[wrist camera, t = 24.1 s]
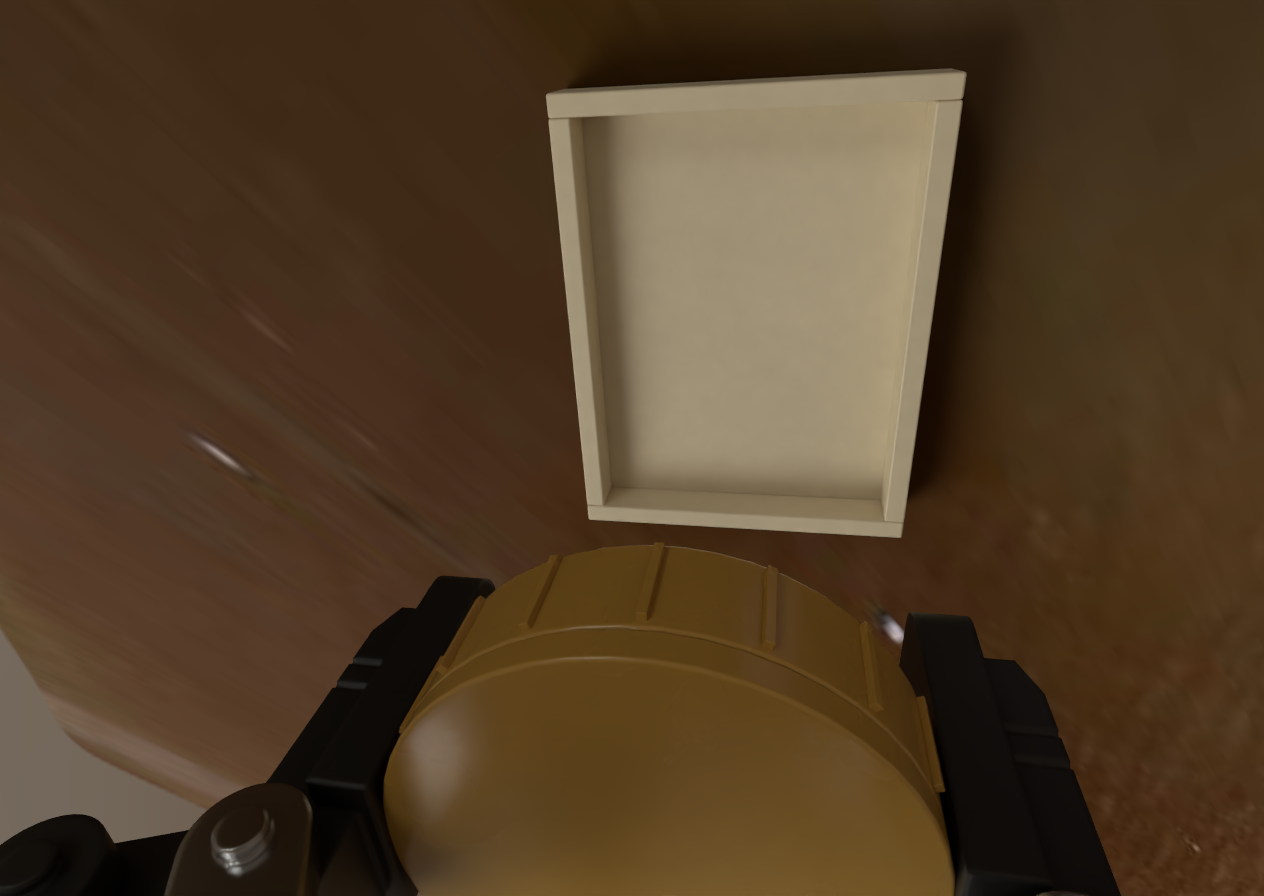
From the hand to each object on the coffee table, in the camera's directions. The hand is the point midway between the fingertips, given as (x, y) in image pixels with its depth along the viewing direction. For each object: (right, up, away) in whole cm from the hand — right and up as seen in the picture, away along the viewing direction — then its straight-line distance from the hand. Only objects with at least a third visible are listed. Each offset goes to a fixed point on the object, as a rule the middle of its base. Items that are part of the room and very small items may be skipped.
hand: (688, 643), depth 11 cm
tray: (+3, +7, +12) cm, 14 cm away
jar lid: (-1, -1, -3) cm, 3 cm away
